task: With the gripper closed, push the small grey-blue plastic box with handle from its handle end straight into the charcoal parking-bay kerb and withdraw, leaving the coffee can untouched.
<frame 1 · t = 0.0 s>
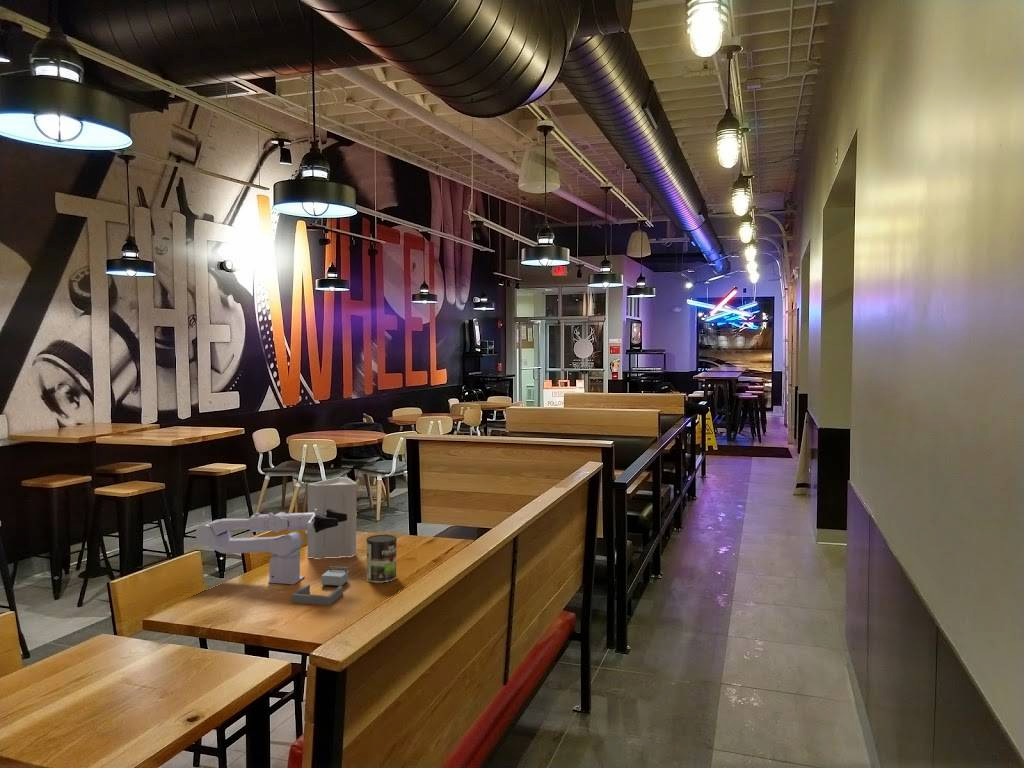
hand: (342, 519, 231), 22 cm above the table, tool horizontal, fingers open, 7 cm apart
tall upright grey box: (338, 554, 266), on the table
coffee can: (381, 579, 238), on the table
bay: (318, 597, 218), on the table
box with handle: (335, 584, 231), on the table
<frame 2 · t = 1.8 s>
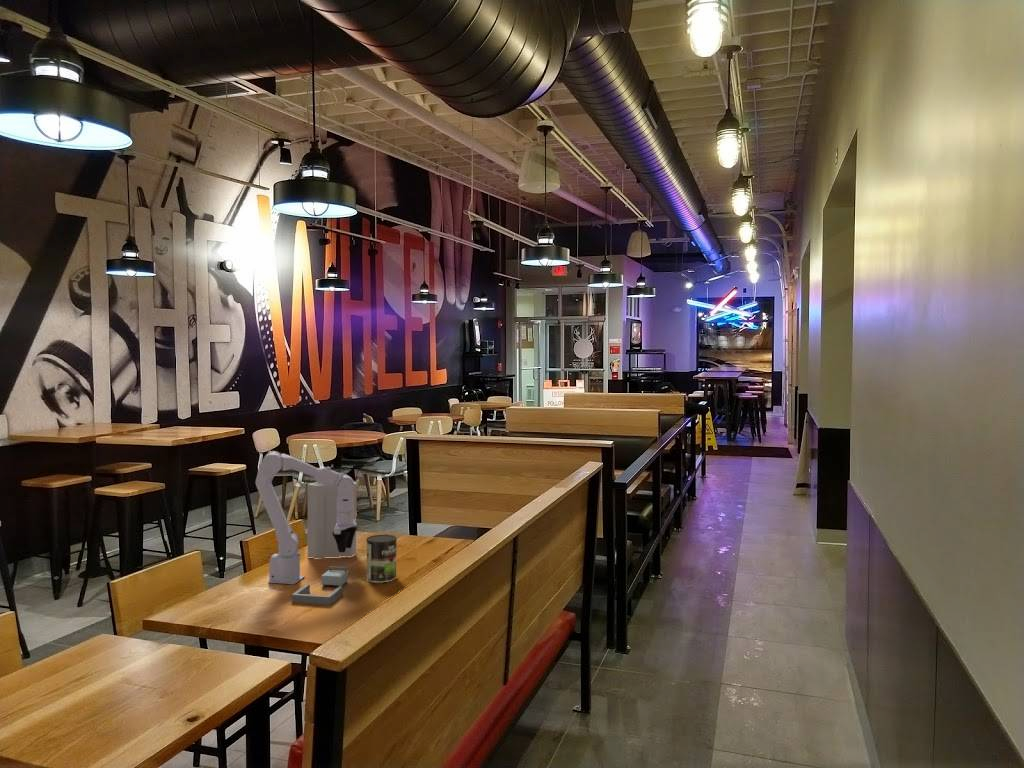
hand: (345, 549, 239), 9 cm above the table, tool pointing down, fingers open, 5 cm apart
nothing on the table moved.
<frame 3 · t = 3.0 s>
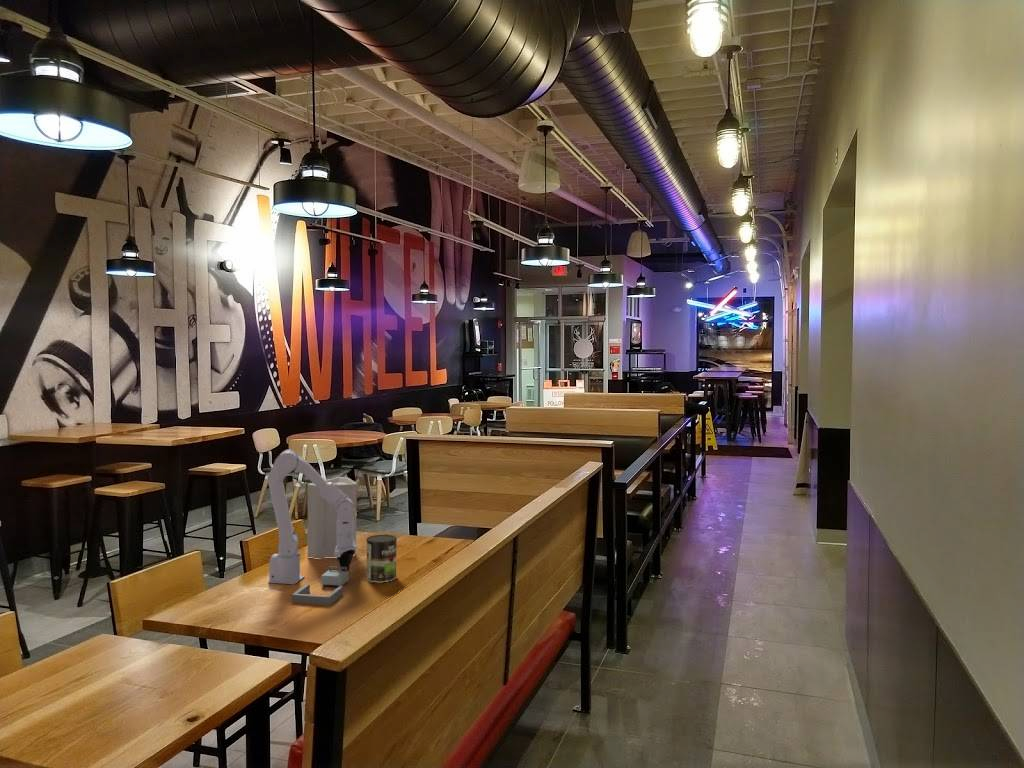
hand: (345, 572, 239), 2 cm above the table, tool pointing down, fingers closed
nothing on the table moved.
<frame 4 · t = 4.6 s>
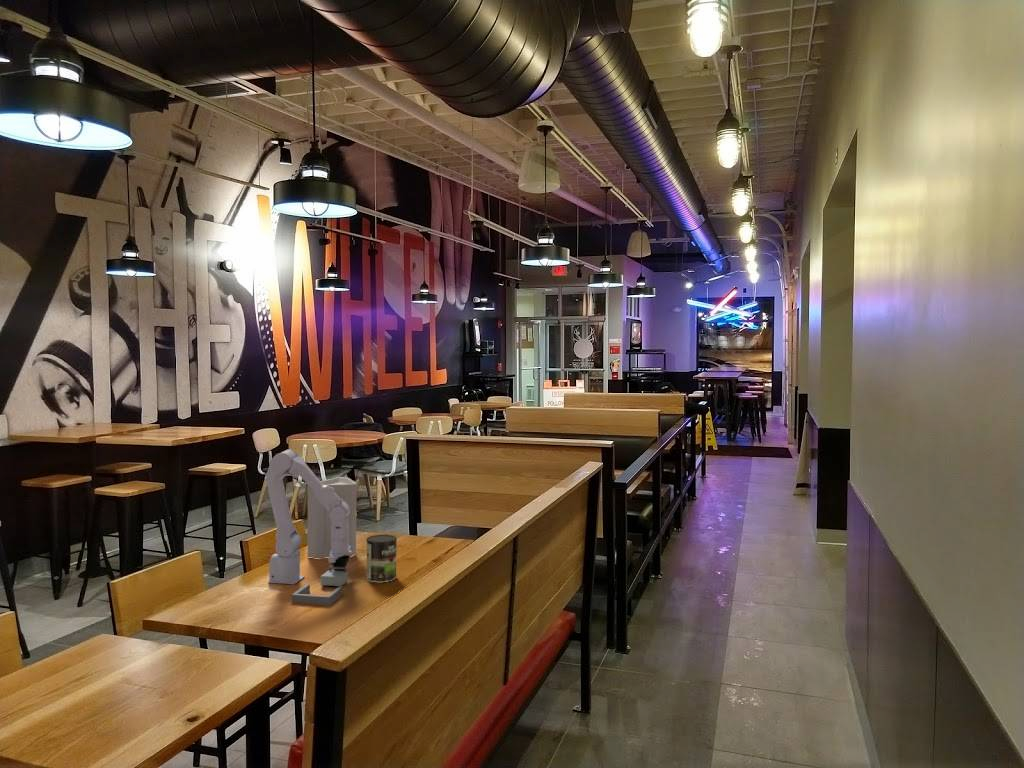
hand: (339, 577, 234), 1 cm above the table, tool pointing down, fingers closed
box with handle: (334, 584, 230), on the table, touching gripper
everything else where it was.
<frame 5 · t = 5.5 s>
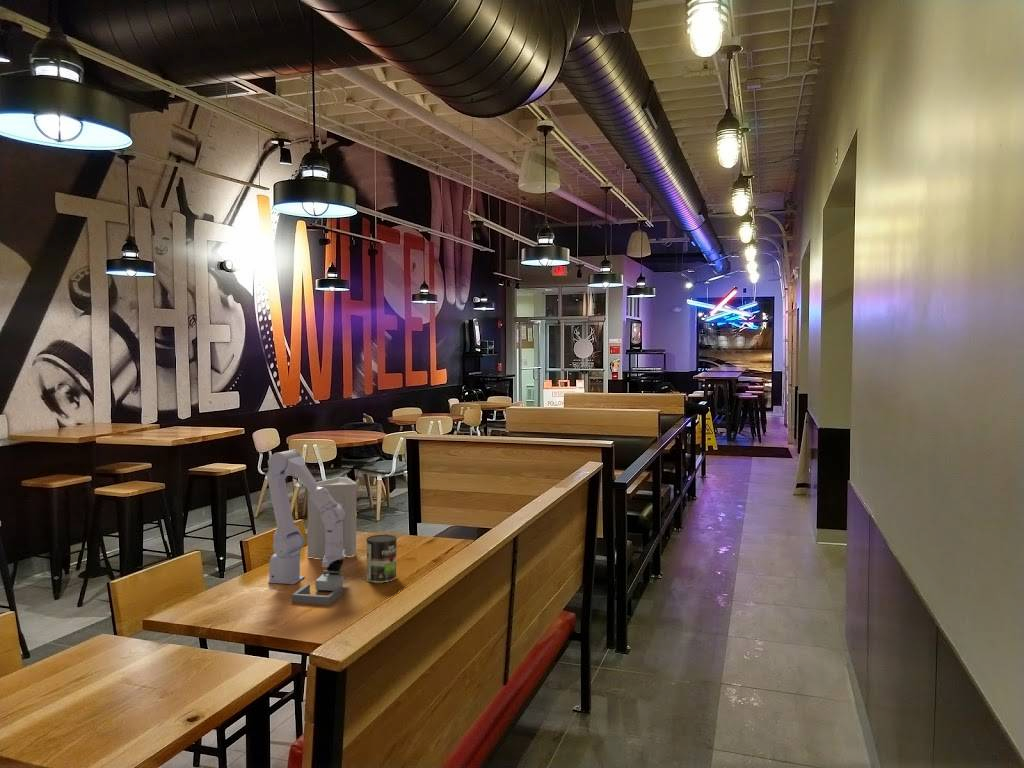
hand: (333, 582, 229), 1 cm above the table, tool pointing down, fingers closed, pressing on box with handle
box with handle: (329, 589, 226), on the table, touching gripper
everything else where it was.
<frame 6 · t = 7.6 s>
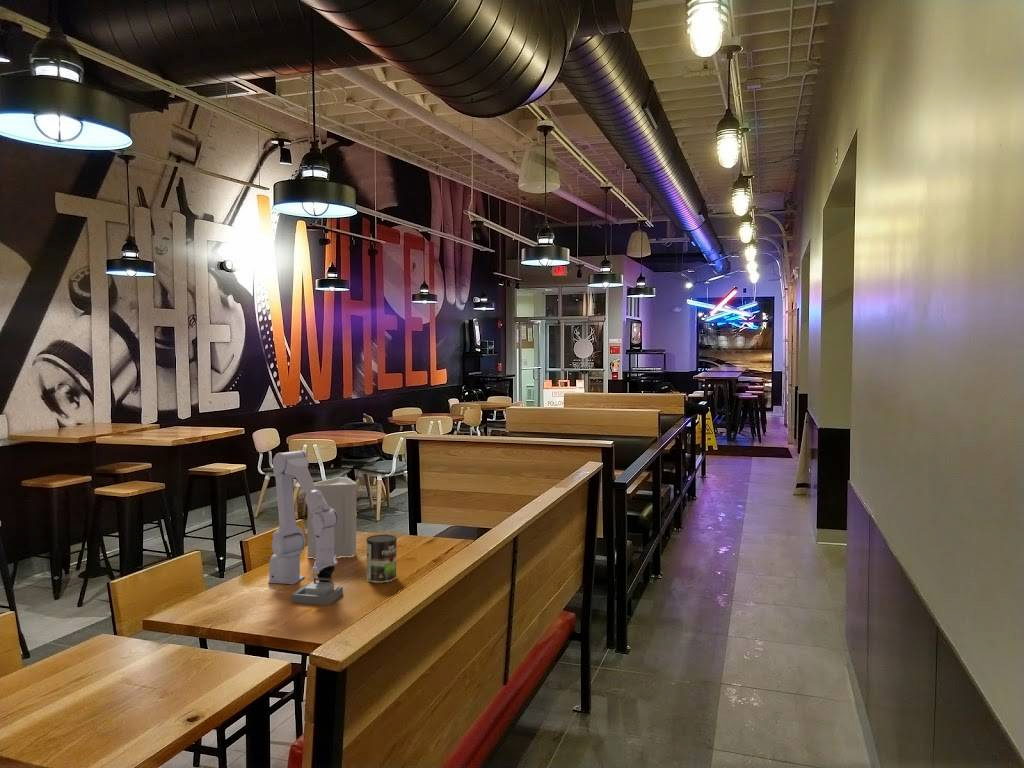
hand: (324, 589, 222), 1 cm above the table, tool pointing down, fingers closed
box with handle: (319, 596, 218), on the table, touching gripper
everything else where it was.
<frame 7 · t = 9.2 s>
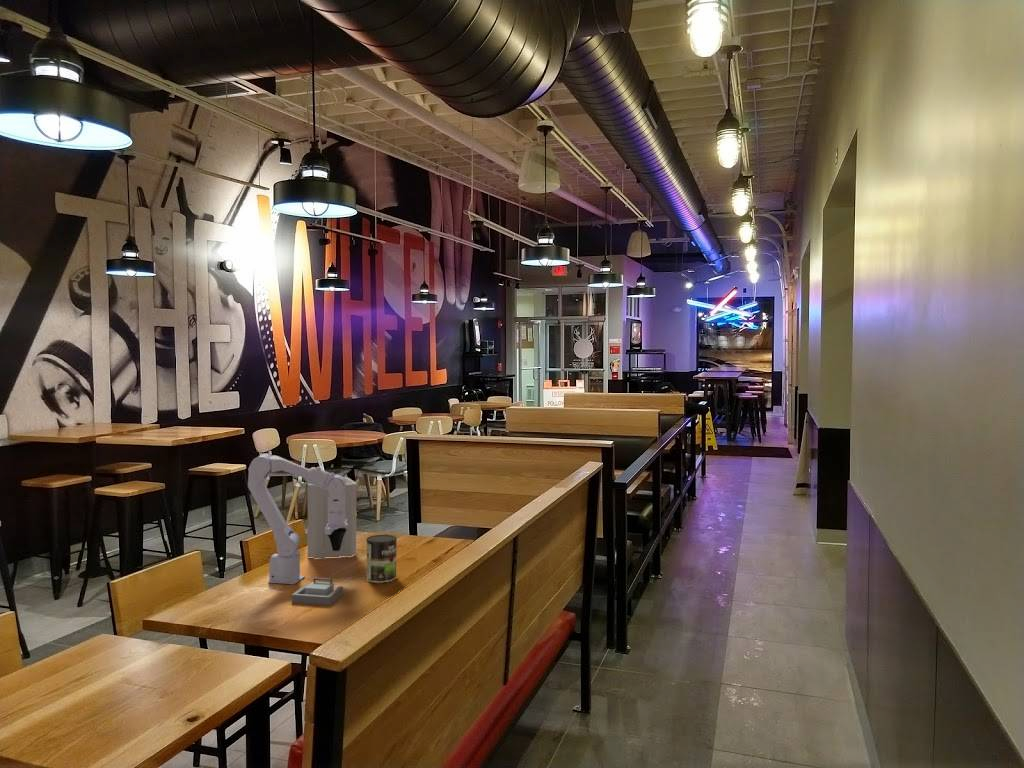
hand: (336, 550, 236), 10 cm above the table, tool pointing down, fingers closed
box with handle: (319, 597, 218), on the table
everything else where it was.
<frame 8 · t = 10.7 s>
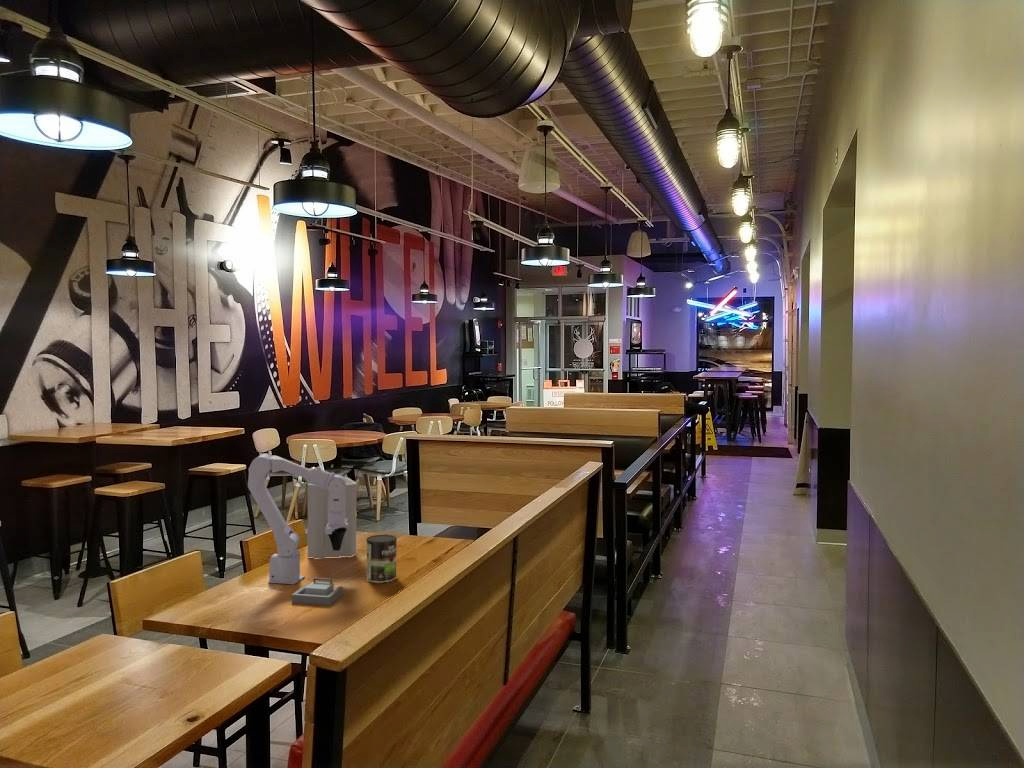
hand: (336, 550, 237), 10 cm above the table, tool pointing down, fingers closed
nothing on the table moved.
at the end: box with handle inside the target area on the bay (1.3 cm from its centre), point 0.0 cm above the bay's base; box with handle tilted 0°; box with handle moved 12.5 cm from its start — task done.
